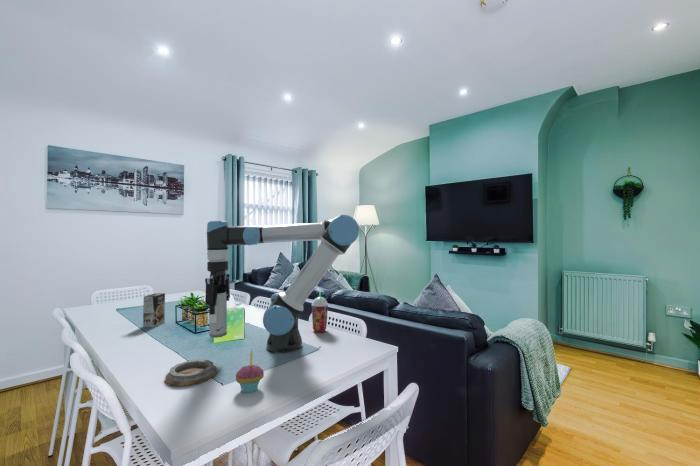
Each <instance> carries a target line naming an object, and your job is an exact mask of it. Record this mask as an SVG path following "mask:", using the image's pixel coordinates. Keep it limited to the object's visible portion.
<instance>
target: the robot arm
mask: <svg viewBox="0 0 700 466" xmlns="http://www.w3.org/2000/svg"><path fill="white" fill-rule="evenodd" d="M206 224H207V225H206V247H207V248H206V251H207V252H206V255H207V257H206V258H207V268H206V270H207V271H208V272H210V275H209V277H208V278H205V280H204V281H205V282H204V283H205V296H204V297H205V299H204V300H205V301H204V302H205V303H204V304H205V306H207V307H208V310H210V311H208V314H209V313H210V323H217V305H216V300H217V287H219V286H220V285H222V284H227V286H226V306H228V304H227V303H228V302H229V301H230V298H231V292H230V291H231V290H230V288H231V287H230V277H231V276H230V275H231V274H230V273H226V271H228V270H229V261H228V260H229V246H255V245H258V244H271V243H275V244H276V243H292V242H308V241H320V243H319V245H318V246H317V247H316V249H315V250H314V251H313V252H312V254H311V256H310V257H309V259H308V260H307V261H306V262H305V264H304V265H303V267H302V268H301V269H300V271H299V272H298V273H297V275H296V276H295V278H294V279H293V280H292V282H291V283H290V284H289V285H288V288H286V290H285V291H281V292H279V293H274V294H272V295H271V296H270V305H269V307H268V308H267V309H266V310H265V311H264V313H263V317H262V324H263V327H264V329H265V330H266V331H267V332H268V333H269V335H268V338H267V340H266V349H267V350H268V351H269V352H272V353H280V354H281V353H283V354H284V353H291V352H294V351H295V352H296V351H298V350H299V349H301V348H302V346H303V339H302V336H301V333H300V329H299V316H300V315H301V314H302V313H303V311H304V303H305V302H306V301H307V299H308V298H309V297H310V295H311V294H312V292H313V291H314V290H315V289H316V287H317V286H318V285H319V283H320V282H321V280H322V279H323V277H324V276H325V274H326V273H327V272H328V270H329V269H330V268H331V267H332V265H333V264H334V262H335V261H336V260H337V258H338V256H340V255H345V254H346V253H347V251H348V249H349V248H350V247H351V245H352V244H353V243H354V242H356V240H357V239H358V237H359V233H360V226H359V223H358V222H357V220H356V219H355V218H353V217H352V216H351V215H347V214H340V215H336V216H335V217H334V218H331V219H323V220H322V221H321V222H311V223H310V222H309V223H307V222H306V223H292V224H290V223H289V224H276V225H275V224H274V225H272V224H271V225H250V224H249V225H229V224H228V221H227V220H210V221H208V222H207V223H206Z"/></svg>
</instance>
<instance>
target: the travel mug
mask: <svg viewBox="0 0 700 466" xmlns="http://www.w3.org/2000/svg"><path fill="white" fill-rule="evenodd" d="M226 286H227V284H222V285H220V286H219V287H217V300H216V305H217V323H210V313H209V311H210V310H209V309H208V310H209V311H208V318H209V319H208V322H209V323H208V326H209V327H208V329H209V330H208V331H209V332H208V333H209V337H210V338H217V339H218V338H222V337H225V336H227V334H228V331H227V330H228V324H227V323H228V322H227V321H228V320H227V318H228V307H227V306H228V305H227V306H226Z"/></svg>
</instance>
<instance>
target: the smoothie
mask: <svg viewBox="0 0 700 466" xmlns="http://www.w3.org/2000/svg"><path fill="white" fill-rule="evenodd" d="M321 292H322V291H319V292H318V293H319V294H318V296H317V297H315V298H314V299H313V301H312V303H311V305H310V306H311V316H312V317H311V319H312V329H313V331H314V333H319V334H320V333H325V332H326V329H327V323H328V311H329V309H328V307H329V303H328V301H327V300H326V298H325V297H323V296H322V295H321Z"/></svg>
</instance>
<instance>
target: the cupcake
mask: <svg viewBox="0 0 700 466" xmlns="http://www.w3.org/2000/svg"><path fill="white" fill-rule="evenodd" d="M253 355H254V353H253V348H251V349H250V355H249V358H250V359H249V365H245V366H243V367H241V368H240V369H238V371H237V372H236V374H235V381H236V382H237V383H238V384H239V385H240V389H241V391H242V392H243V393H247V394H248V393H253V392H255V391H257V389H258V387H259V383H260V381H261V380H262V379H264V377H265V376H264V374H265V372H264V370H263V368H261V366H259V365H256V364H255V365H254V364H253Z"/></svg>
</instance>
